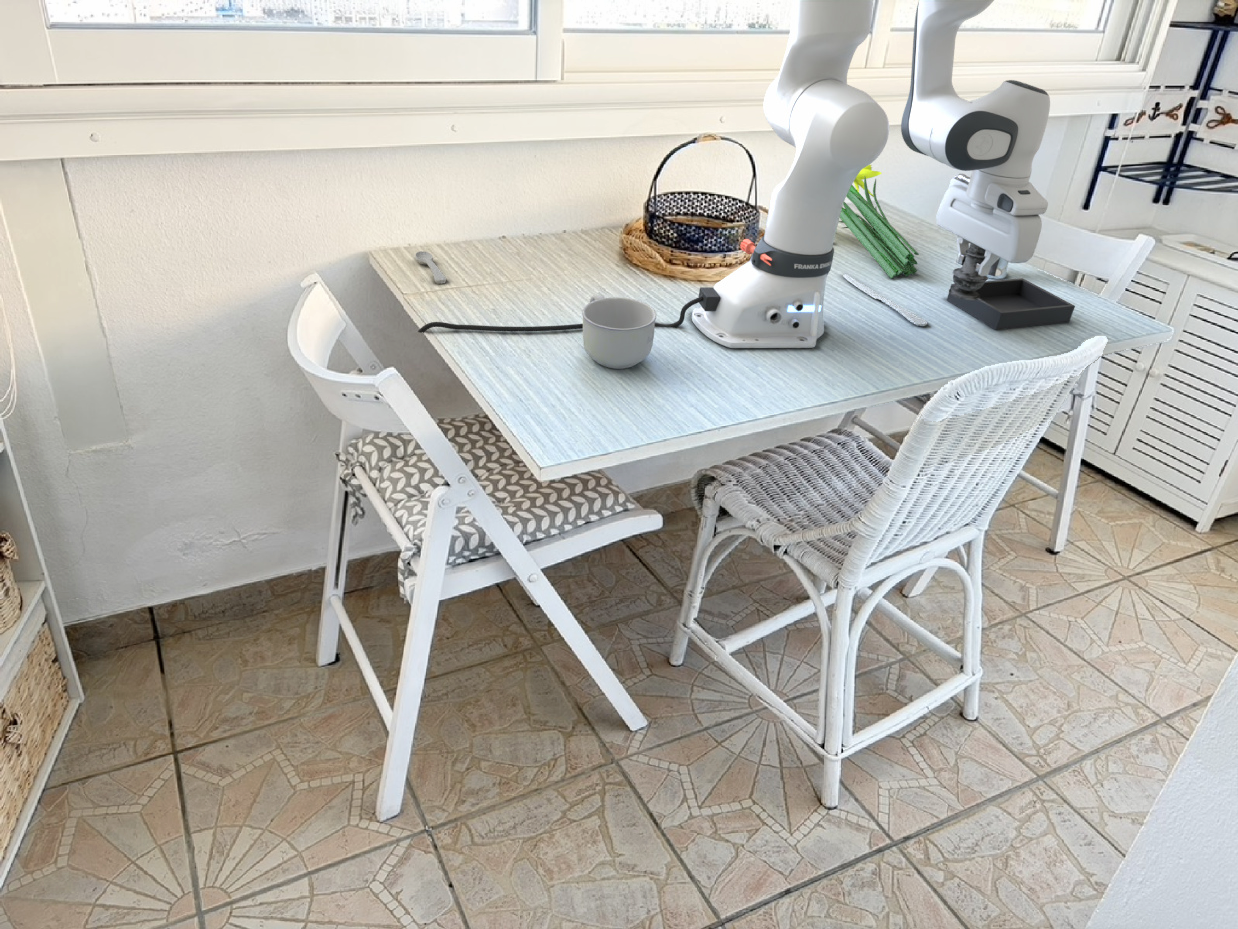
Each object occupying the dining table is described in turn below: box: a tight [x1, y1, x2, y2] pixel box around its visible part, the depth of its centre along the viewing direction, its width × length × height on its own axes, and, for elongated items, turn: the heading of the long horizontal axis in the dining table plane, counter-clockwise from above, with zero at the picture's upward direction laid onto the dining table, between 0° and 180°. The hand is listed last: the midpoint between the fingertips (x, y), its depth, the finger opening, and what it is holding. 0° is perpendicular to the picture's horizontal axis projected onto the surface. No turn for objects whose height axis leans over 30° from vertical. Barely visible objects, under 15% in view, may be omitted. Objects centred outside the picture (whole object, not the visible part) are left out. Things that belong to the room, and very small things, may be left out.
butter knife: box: [842, 273, 929, 327], centre depth 169 cm, size 1×24×3 cm
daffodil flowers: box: [838, 164, 920, 280], centre depth 189 cm, size 17×15×35 cm
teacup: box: [581, 293, 657, 370], centre depth 137 cm, size 14×11×8 cm
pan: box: [946, 277, 1076, 331], centre depth 169 cm, size 17×13×3 cm
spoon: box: [414, 250, 447, 285], centre depth 161 cm, size 3×12×2 cm, turn 27°
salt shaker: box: [948, 243, 989, 300], centre depth 156 cm, size 6×6×12 cm
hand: (971, 269), depth 157 cm, fingers closed on salt shaker, 3 cm apart
